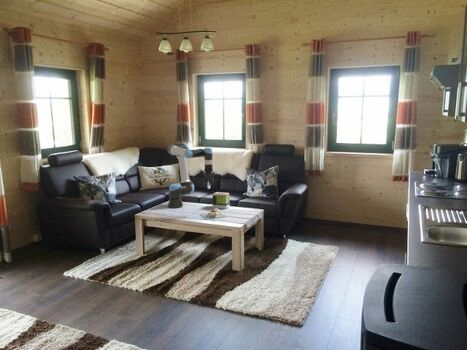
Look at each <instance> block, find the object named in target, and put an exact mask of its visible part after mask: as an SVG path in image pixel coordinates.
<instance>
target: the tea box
mask: <svg viewBox="0 0 467 350" xmlns="http://www.w3.org/2000/svg"><path fill="white" fill-rule="evenodd" d="M212 208H215V209H216V208H218V209H221V210H222V209H224V210H227V209H228V208H230V193H229V192H220V191H216V192H214V193H212Z"/></svg>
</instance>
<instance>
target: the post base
mask: <svg viewBox="0 0 467 350" xmlns="http://www.w3.org/2000/svg"><path fill="white" fill-rule="evenodd" d="M215 209H216V208H213V207H211V209H210V210H211V211H212V212H215ZM200 216H201V217H202V216H203V217H204V218H203V217H202V218H203V219H204V220H215V219H220V218H226V217H227V216H226V215H225V214H223V212H221V211H220V214H219V215H218V216H217V218H216V217H208V213H202V214H200Z"/></svg>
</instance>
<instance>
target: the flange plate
mask: <svg viewBox="0 0 467 350" xmlns="http://www.w3.org/2000/svg"><path fill="white" fill-rule="evenodd" d="M217 209H219V208H215V212H212V211H211V209H210V210H209V211H208V212H207V214H208V217H216V218H215V219H218V218H217V216H218V215H219V214H220V212H221V211H220V209H219V210H217Z"/></svg>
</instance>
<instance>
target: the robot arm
mask: <svg viewBox="0 0 467 350" xmlns="http://www.w3.org/2000/svg"><path fill="white" fill-rule="evenodd" d="M167 153H168V154H169V155H171V156H176V157H177V159H178V165H179V166H178V167H179V172H180V173H179V174H180V182H179V183H178V182H177V183H176V182H175V183H172V184H169V187H168V188H169V189H168V193H169V194H168V195H169V197H168V198H169V200H168V203H167V204H168V205H167V207H168V208H169V209H179V208H183V206H184V204H183V201H182V196H187V195H191V194H193V193H194V191H195V185H194V183H193V182H192V180H190V174H189V173H190V171H189V166H188V159H194V158H204V169H203V170H202V171H201V173H202V175H203V179H204V181H205V182H206V186H207V189H208V190H209V189H211V185H212V182H213V181H214V177H215V173H216V171H214V169H213V165H214V164H213V148H212V147H204V148H197V149H190V147H189V144H187V143H185V142H177V143H171V144H169V145H168V147H167Z"/></svg>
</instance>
